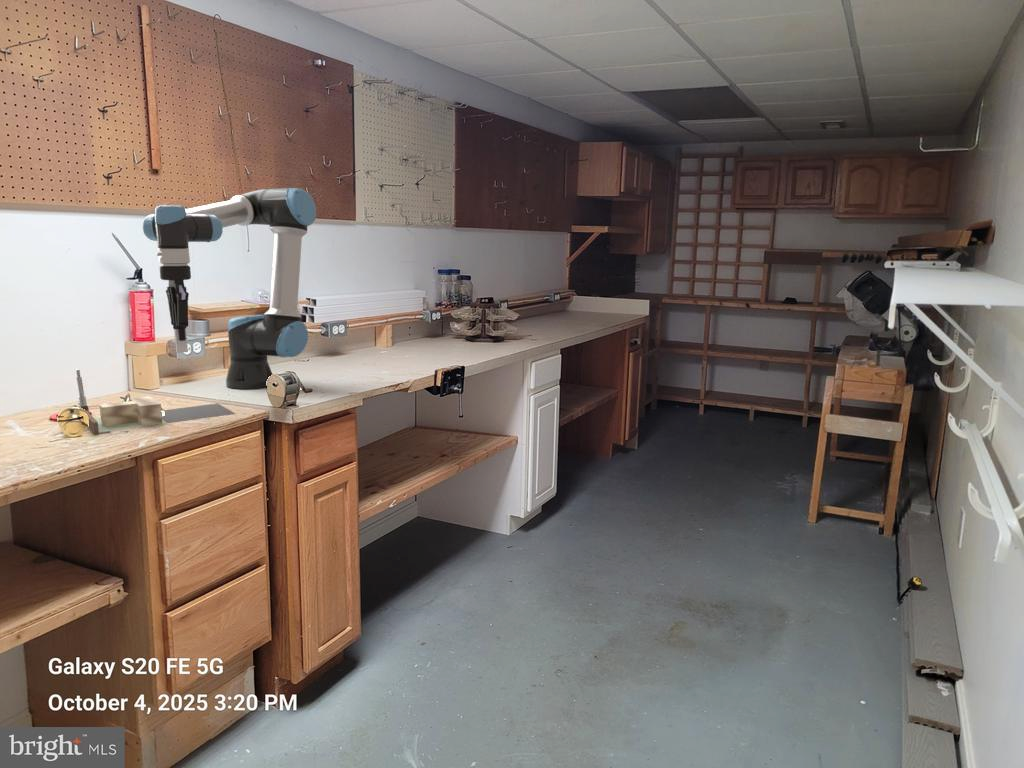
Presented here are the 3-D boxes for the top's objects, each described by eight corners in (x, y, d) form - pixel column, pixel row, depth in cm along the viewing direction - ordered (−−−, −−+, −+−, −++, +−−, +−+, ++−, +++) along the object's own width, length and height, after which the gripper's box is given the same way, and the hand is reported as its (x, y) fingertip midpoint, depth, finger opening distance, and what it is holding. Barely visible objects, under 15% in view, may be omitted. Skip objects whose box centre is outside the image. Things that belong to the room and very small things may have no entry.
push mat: (217, 404, 220) (217, 394, 219) (235, 415, 207) (235, 404, 207) (83, 421, 198) (82, 410, 198) (94, 434, 186) (93, 422, 185)
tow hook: (56, 424, 197) (93, 417, 204) (47, 377, 194) (86, 371, 201) (46, 419, 203) (82, 412, 209) (37, 373, 200) (75, 367, 206)
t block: (150, 413, 206) (149, 396, 205) (162, 422, 197) (160, 403, 196) (98, 420, 198) (96, 402, 197) (107, 429, 189) (105, 410, 188)
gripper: (153, 264, 201) (161, 350, 206) (166, 266, 191) (173, 356, 196) (182, 263, 206) (189, 347, 211) (196, 265, 196) (203, 353, 201)
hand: (182, 351), depth 203 cm, fingers closed
